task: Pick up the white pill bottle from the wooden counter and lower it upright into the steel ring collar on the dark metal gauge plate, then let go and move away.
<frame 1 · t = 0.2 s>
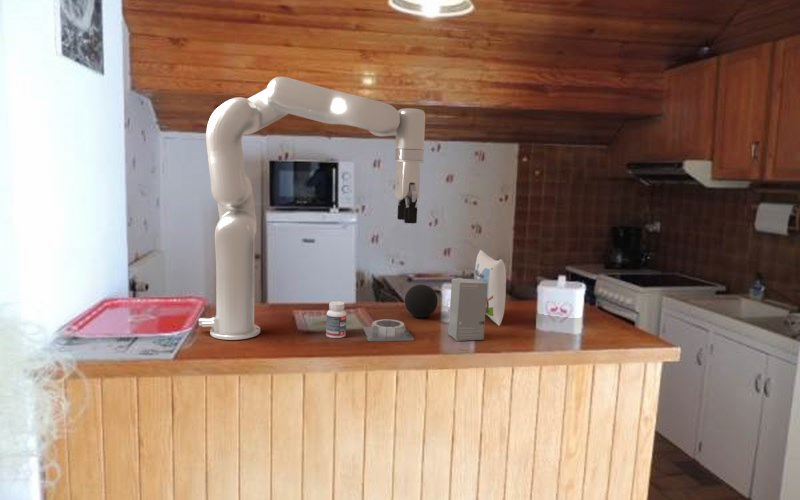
hand: (406, 221, 153), 31 cm above the table, tool pointing down, fingers open, 9 cm apart
skincare box: (465, 337, 155), on the table
speaker: (420, 317, 173), on the table
pouch: (487, 318, 176), on the table
gauge plate: (387, 334, 153), on the table
pill bottle: (335, 336, 151), on the table
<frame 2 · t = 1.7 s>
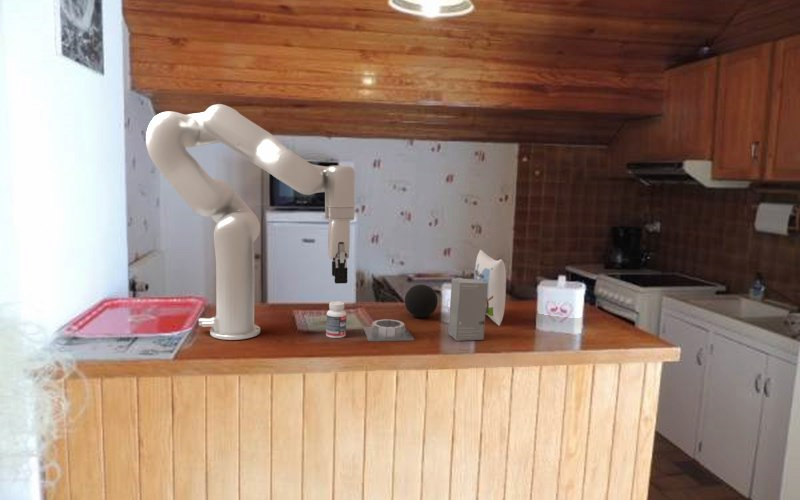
hand: (339, 279, 149), 15 cm above the table, tool pointing down, fingers open, 9 cm apart
nothing on the table moved.
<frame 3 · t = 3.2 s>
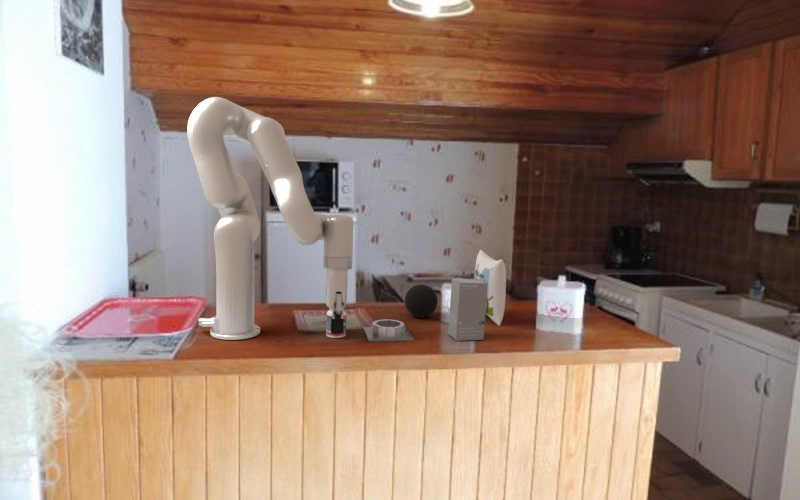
hand: (336, 329, 151), 2 cm above the table, tool pointing down, fingers closed on pill bottle, 5 cm apart
pill bottle: (335, 336, 151), on the table, touching gripper
everything else where it was.
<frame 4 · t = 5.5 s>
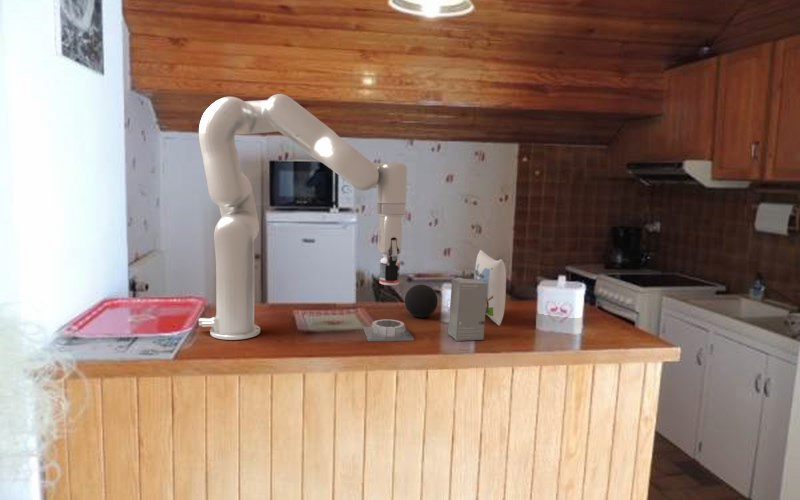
hand: (389, 277, 151), 16 cm above the table, tool pointing down, fingers closed on pill bottle, 5 cm apart
pill bottle: (389, 284, 151), point 14 cm above the table, touching gripper
everything else where it was.
when the fingers open (4 cm above the table, at t = 7.4 s): pill bottle drops 1 cm, resting on gauge plate.
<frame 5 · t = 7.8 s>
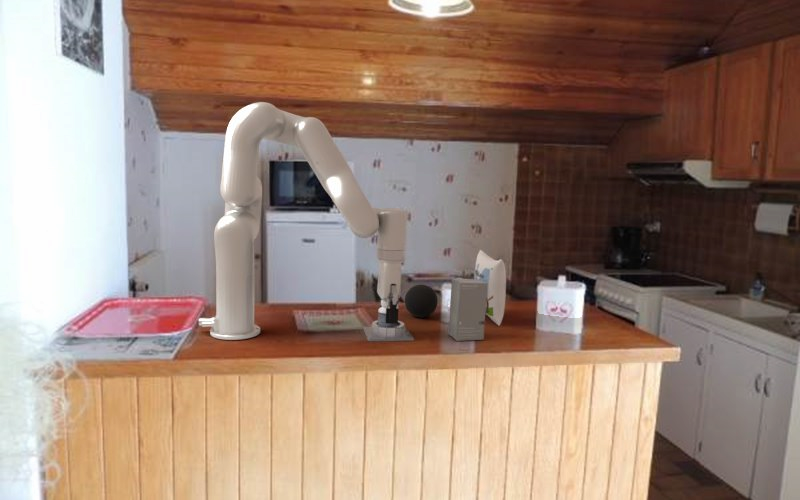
hand: (388, 318, 153), 5 cm above the table, tool pointing down, fingers open, 9 cm apart
pill bottle: (387, 333, 153), resting on gauge plate
everything else where it was.
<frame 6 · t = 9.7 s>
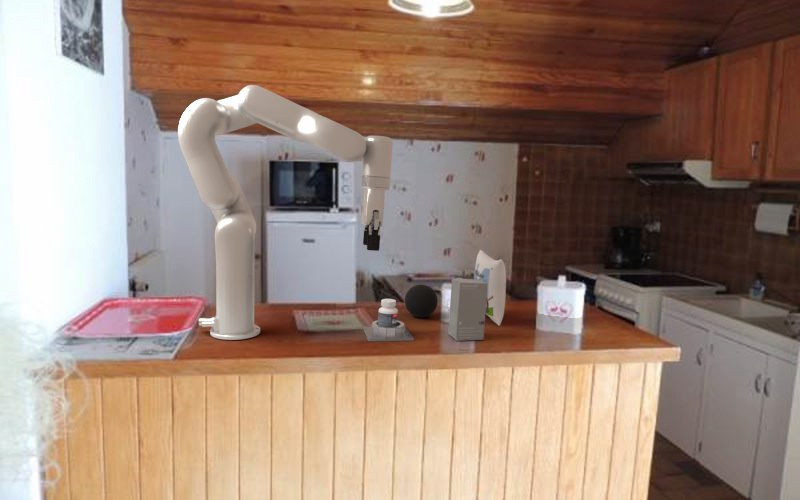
hand: (370, 247, 152), 23 cm above the table, tool pointing down, fingers open, 9 cm apart
nothing on the table moved.
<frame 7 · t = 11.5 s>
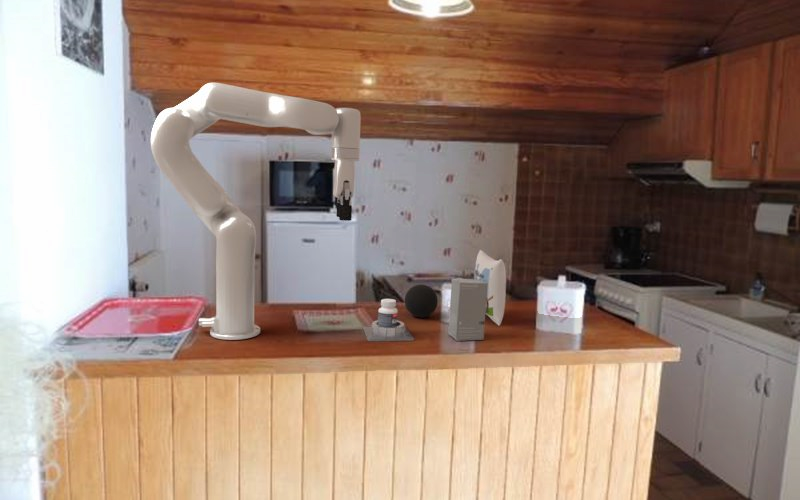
hand: (343, 218, 156), 30 cm above the table, tool pointing down, fingers open, 9 cm apart
nothing on the table moved.
at the end: pill bottle 0.2 cm from the gauge plate (horizontally); pill bottle resting on gauge plate; pill bottle tilted 0° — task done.
